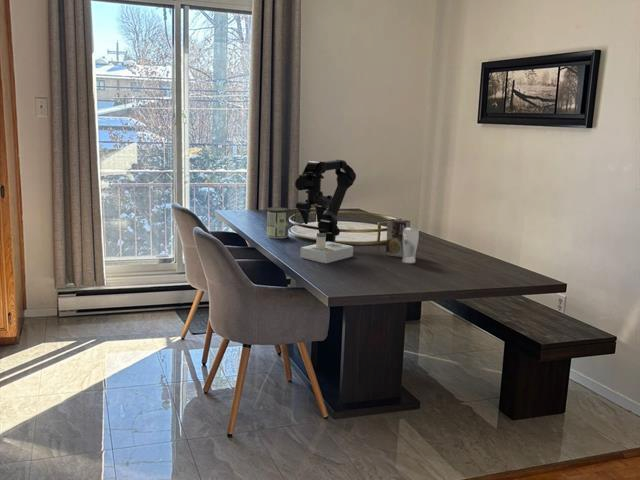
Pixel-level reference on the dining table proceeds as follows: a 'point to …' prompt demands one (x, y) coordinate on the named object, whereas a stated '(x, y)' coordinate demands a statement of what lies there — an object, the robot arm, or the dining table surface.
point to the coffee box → (395, 237)
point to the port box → (327, 252)
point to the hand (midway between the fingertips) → (312, 223)
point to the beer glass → (410, 244)
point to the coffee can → (277, 222)
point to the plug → (320, 241)
